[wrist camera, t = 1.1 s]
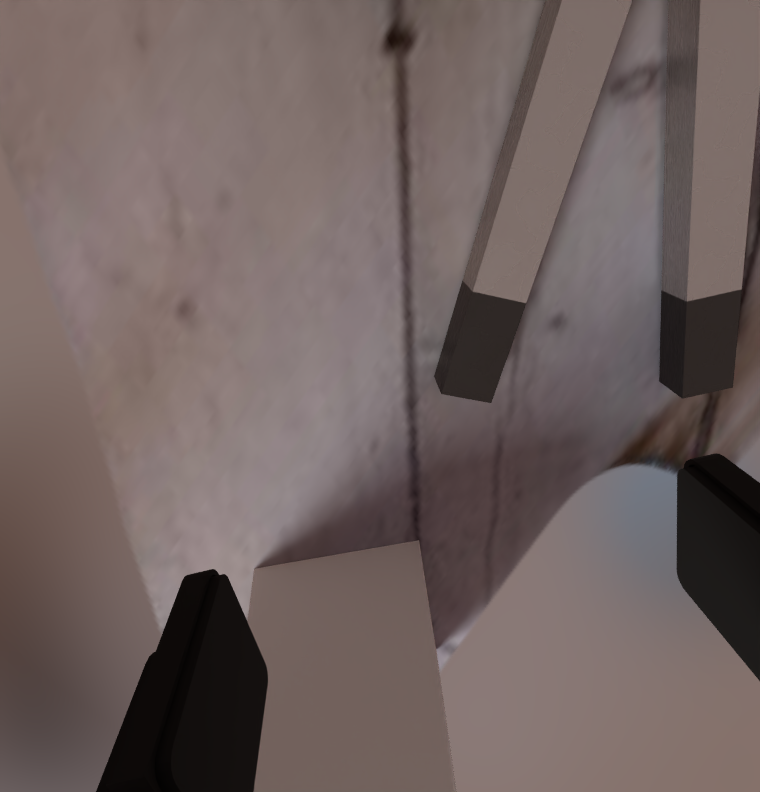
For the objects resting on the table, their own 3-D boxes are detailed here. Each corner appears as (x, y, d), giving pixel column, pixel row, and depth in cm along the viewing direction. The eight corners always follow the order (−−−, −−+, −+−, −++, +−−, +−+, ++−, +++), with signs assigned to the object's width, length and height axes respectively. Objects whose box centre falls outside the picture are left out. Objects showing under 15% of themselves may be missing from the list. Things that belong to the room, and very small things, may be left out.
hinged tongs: (576, -267, 21) (611, -327, 18) (746, -309, 21) (806, -377, 18) (598, 392, 34) (620, 413, 31) (703, 369, 34) (735, 388, 31)
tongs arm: (602, -192, 22) (632, -231, 20) (699, -154, 23) (739, -187, 20) (434, 376, 32) (441, 393, 30) (504, 389, 33) (516, 407, 31)
